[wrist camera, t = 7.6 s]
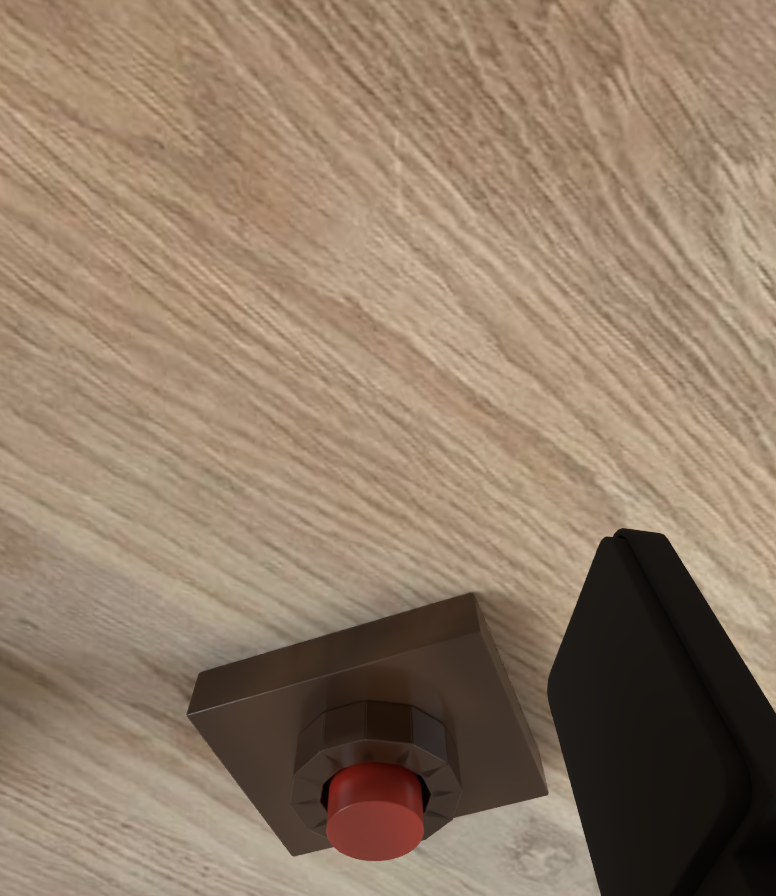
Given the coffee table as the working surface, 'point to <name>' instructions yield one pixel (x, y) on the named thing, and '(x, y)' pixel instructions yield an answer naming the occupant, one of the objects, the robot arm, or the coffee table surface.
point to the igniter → (373, 719)
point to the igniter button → (375, 811)
